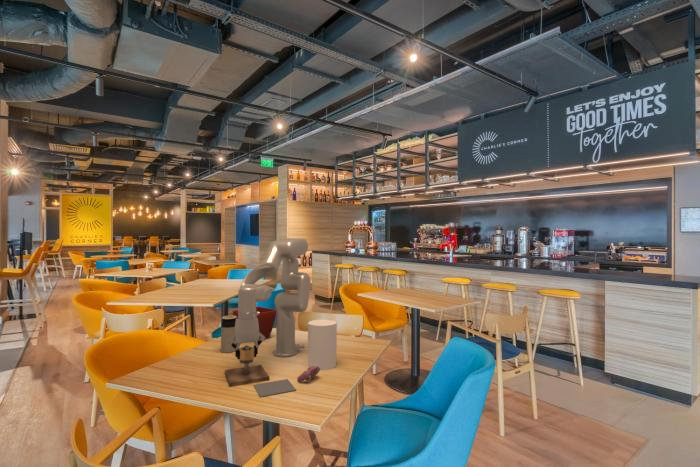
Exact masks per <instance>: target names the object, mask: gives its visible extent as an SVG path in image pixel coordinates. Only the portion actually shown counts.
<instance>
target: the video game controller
mask: <svg viewBox="0 0 700 467" xmlns="http://www.w3.org/2000/svg"><path fill="white" fill-rule="evenodd" d="M320 371H321V370H320V368H319V367H318V366H316V365H315V366H310V367H308V368H307V369H305V370H304V371H303V372H302V373H301V374H300V375H299V376H297V380H296V381H297V382H299V383H303V382H305V381H306V382H309V381H310V380H311V379H314V378H315V377H316V376H317V375H318V373H319V372H320Z"/></svg>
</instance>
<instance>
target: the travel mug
mask: <svg viewBox="0 0 700 467" xmlns="http://www.w3.org/2000/svg"><path fill="white" fill-rule="evenodd" d="M236 318H237V316H233V315H224V316H221V319H222V322H221V325H220V327H221V328H220V330H221V331H220V332H221V334H220V352H221V353H223V352H224V353H223V354H225V353H226V354H229V353H234V352H235V350H236V349H235V348H233V347H232V346H231V345H230V344H229V343H228V340H229V339H230V338H231V337H232V336H233V335H234V330H235V322H236ZM232 342H233V343H234V344H235V345H236V341H235V340H233V341H232Z"/></svg>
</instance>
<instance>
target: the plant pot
mask: <svg viewBox="0 0 700 467" xmlns="http://www.w3.org/2000/svg"><path fill="white" fill-rule="evenodd" d="M256 311H257V312H259V313H260V315H257V318H258V324H259V332H260V333H261V334H262V335H263V336H265V339H264V340H266V339H269V338H270V336H271V335H272V334H271V333H272V331H273V327H274V324H275V320H276V317H277V316H276V309H273V308H268V307H265V306H262V307H261V306H256ZM232 316H237V318H236V319H238V309H236V310H232ZM260 339H261V337H260V336H259V340H260ZM259 340H258V341H259Z"/></svg>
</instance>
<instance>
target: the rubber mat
mask: <svg viewBox="0 0 700 467" xmlns="http://www.w3.org/2000/svg"><path fill="white" fill-rule="evenodd" d="M253 387H254V389H255V391H256V392H257V394H258V397H259V398H264V397H270V396H275V395H280V394H281V395H282V394H286V393H290V392H291V393H292V392H296V391H297V388H295V387H294V385H293V384H292V383H291V381H290V380H289V379H288V378H285V379H280V380H273V381H268V382H263V383H261V382H260V383H254V384H253Z"/></svg>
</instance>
